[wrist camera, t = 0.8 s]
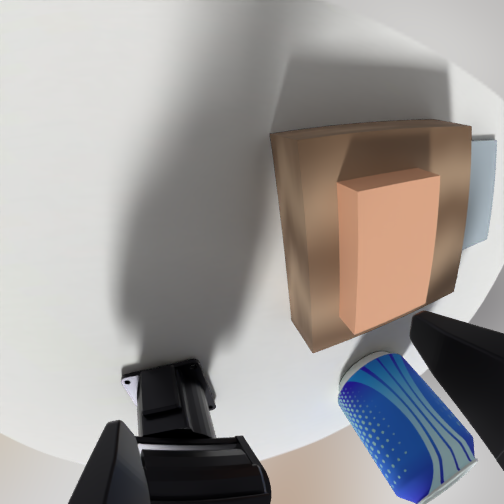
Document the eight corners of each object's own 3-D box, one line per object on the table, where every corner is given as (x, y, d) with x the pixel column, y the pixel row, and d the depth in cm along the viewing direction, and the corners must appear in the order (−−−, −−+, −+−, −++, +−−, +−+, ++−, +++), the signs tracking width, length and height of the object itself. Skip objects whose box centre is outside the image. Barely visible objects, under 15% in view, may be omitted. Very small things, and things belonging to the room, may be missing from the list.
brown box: (425, 271, 27) (453, 291, 24) (291, 320, 25) (312, 353, 21) (433, 119, 21) (471, 126, 17) (269, 134, 18) (297, 140, 15)
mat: (484, 237, 28) (487, 239, 28) (426, 262, 27) (429, 263, 26) (493, 139, 23) (496, 140, 23) (434, 143, 22) (437, 144, 21)
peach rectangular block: (408, 289, 21) (425, 303, 20) (339, 316, 20) (354, 334, 19) (417, 167, 17) (440, 175, 16) (336, 182, 16) (357, 192, 14)
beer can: (332, 365, 29) (423, 497, 15) (402, 333, 30) (499, 438, 16) (331, 411, 32) (398, 521, 19) (391, 382, 34) (465, 475, 20)
